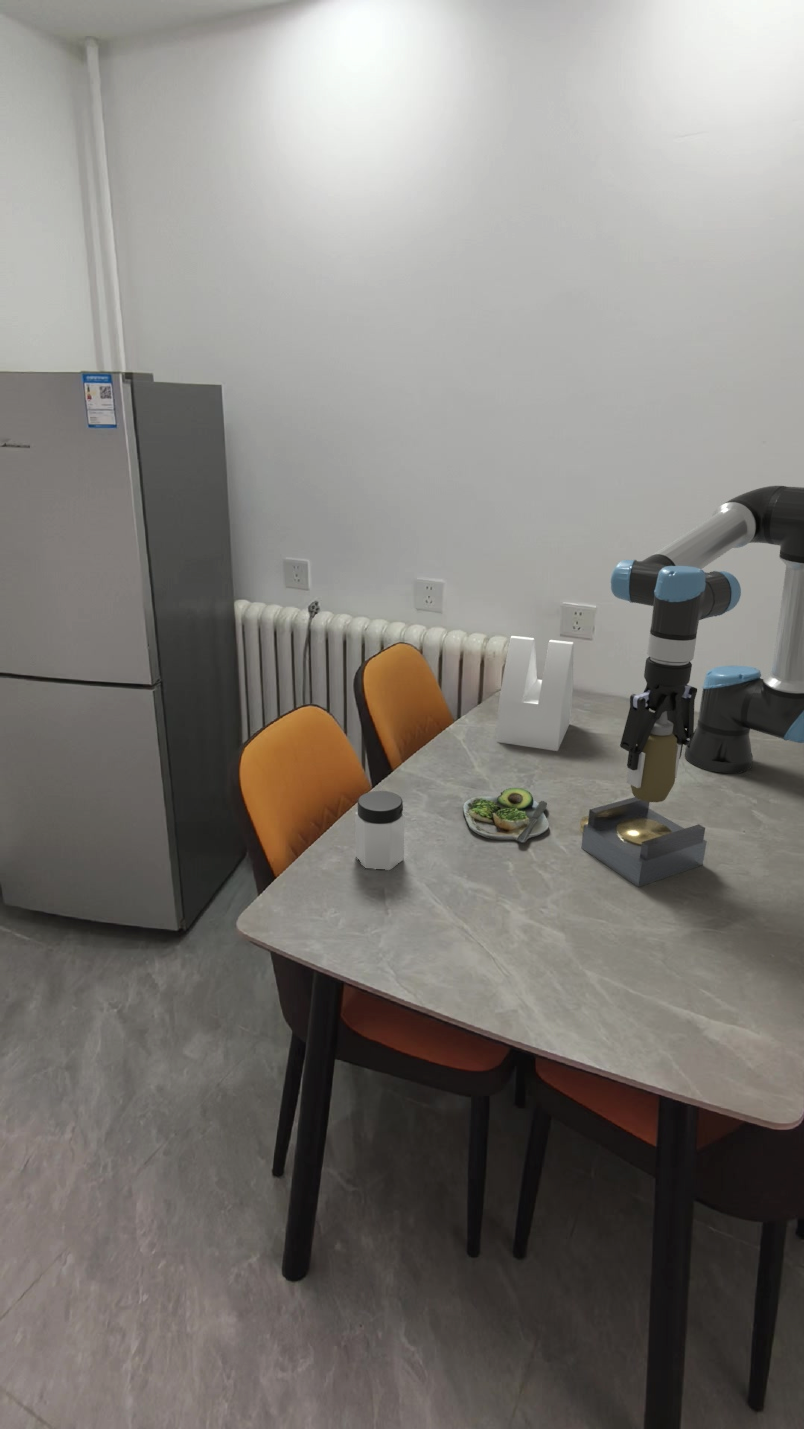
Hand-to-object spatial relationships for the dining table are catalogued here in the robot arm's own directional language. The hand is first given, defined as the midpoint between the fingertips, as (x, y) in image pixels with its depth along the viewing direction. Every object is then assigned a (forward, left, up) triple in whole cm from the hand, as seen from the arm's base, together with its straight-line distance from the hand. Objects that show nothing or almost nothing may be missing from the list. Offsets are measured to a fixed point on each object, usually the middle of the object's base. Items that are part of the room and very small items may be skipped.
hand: (651, 780), depth 143 cm
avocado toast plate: (+14, -24, -16) cm, 32 cm away
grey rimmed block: (0, 0, -16) cm, 16 cm away
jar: (+44, -22, -16) cm, 51 cm away
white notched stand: (-20, -59, -16) cm, 64 cm away
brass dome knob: (+1, -12, -16) cm, 20 cm away
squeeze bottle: (0, 0, -3) cm, 3 cm away
